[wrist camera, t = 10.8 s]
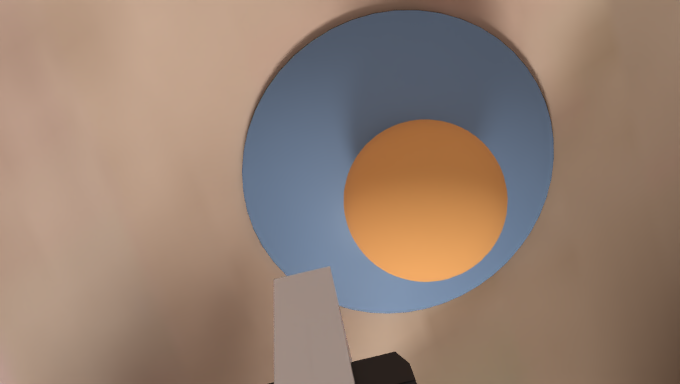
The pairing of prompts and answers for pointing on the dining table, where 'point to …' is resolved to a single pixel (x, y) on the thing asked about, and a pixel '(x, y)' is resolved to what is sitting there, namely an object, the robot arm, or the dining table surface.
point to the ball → (425, 200)
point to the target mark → (371, 119)
